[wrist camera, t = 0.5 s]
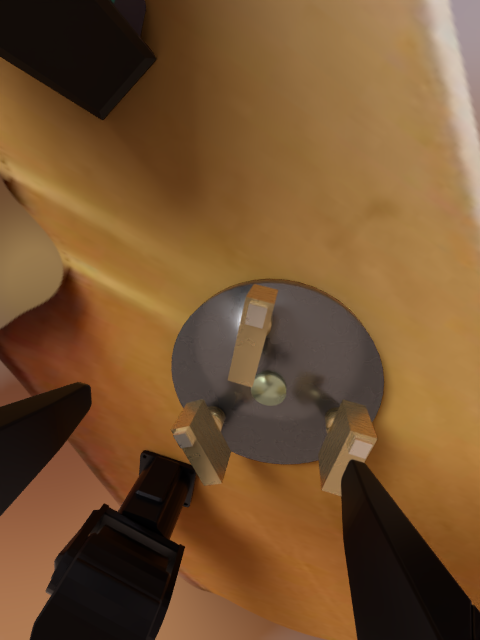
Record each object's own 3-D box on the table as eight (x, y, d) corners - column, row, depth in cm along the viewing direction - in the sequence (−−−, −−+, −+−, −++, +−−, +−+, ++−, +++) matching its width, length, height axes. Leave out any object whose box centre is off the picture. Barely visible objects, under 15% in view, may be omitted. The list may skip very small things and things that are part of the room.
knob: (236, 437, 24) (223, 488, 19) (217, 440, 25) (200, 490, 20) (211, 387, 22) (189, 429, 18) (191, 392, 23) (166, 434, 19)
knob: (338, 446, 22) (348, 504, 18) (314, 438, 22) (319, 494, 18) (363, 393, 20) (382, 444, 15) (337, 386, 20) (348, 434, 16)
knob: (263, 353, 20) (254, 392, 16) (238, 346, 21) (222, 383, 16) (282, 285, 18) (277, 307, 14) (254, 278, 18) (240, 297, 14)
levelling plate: (335, 472, 25) (339, 494, 23) (170, 420, 27) (160, 436, 25) (417, 311, 18) (432, 322, 16) (190, 255, 20) (178, 260, 18)
